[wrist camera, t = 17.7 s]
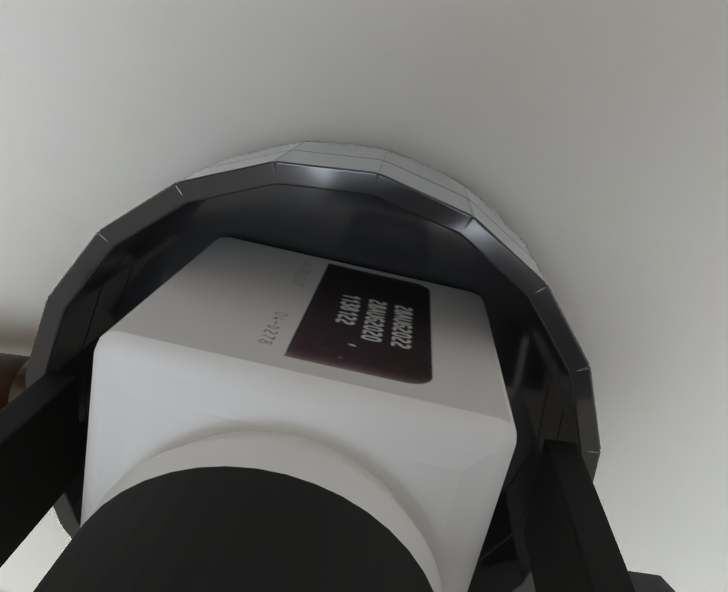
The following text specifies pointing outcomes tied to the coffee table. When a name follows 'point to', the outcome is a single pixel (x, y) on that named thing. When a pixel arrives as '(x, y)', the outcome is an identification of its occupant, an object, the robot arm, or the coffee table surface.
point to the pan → (355, 247)
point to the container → (290, 433)
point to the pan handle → (12, 377)
